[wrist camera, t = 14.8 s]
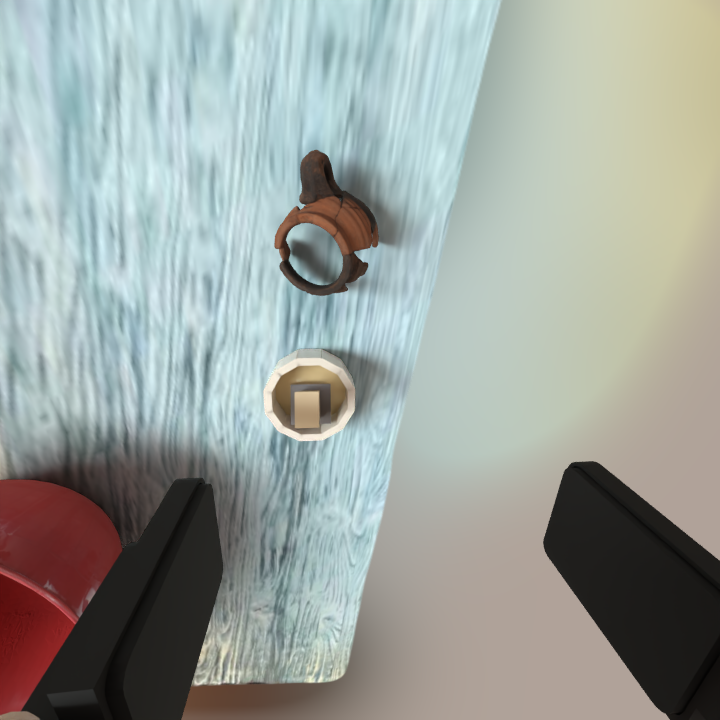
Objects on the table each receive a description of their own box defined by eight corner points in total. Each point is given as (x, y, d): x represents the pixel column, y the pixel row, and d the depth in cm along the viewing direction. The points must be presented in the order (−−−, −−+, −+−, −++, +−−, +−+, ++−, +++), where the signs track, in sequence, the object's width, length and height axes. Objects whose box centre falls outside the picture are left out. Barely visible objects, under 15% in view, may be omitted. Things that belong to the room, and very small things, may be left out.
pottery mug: (392, 266, 36) (373, 298, 29) (315, 277, 39) (283, 308, 33) (367, 135, 30) (335, 141, 23) (278, 162, 33) (229, 174, 27)
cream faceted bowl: (266, 349, 37) (260, 358, 34) (352, 348, 38) (355, 357, 35) (271, 426, 40) (267, 442, 37) (351, 423, 41) (354, 438, 38)
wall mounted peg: (291, 384, 38) (279, 384, 28) (330, 383, 38) (332, 383, 28) (291, 423, 38) (280, 437, 28) (330, 422, 38) (333, 435, 28)
